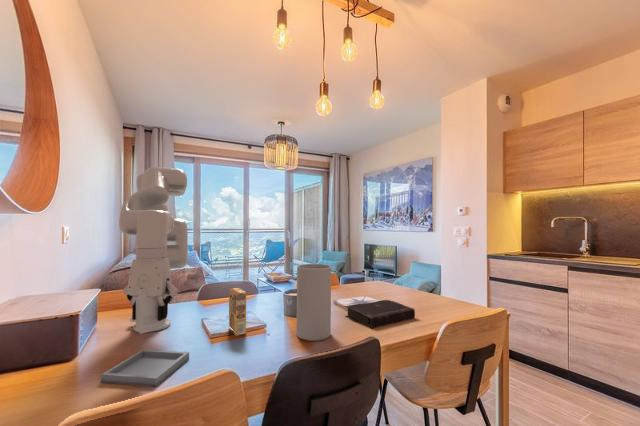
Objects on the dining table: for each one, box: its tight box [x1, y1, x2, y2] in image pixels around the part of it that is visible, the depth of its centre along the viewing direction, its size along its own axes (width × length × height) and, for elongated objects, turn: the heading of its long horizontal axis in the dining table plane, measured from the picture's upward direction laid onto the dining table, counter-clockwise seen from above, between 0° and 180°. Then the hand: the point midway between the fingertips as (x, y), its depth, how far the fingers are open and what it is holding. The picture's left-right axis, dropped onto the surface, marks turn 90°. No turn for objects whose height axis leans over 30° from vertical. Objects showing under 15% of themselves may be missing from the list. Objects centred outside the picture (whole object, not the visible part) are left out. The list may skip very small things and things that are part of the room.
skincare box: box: [135, 288, 164, 334], centre depth 82 cm, size 6×4×12 cm
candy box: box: [228, 287, 247, 336], centre depth 111 cm, size 9×4×15 cm, turn 33°
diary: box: [344, 299, 416, 329], centre depth 129 cm, size 19×25×5 cm
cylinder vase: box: [295, 263, 332, 342], centre depth 108 cm, size 12×12×25 cm
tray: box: [100, 349, 190, 387], centre depth 82 cm, size 15×15×2 cm
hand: (149, 318), depth 82 cm, fingers closed on skincare box, 6 cm apart
